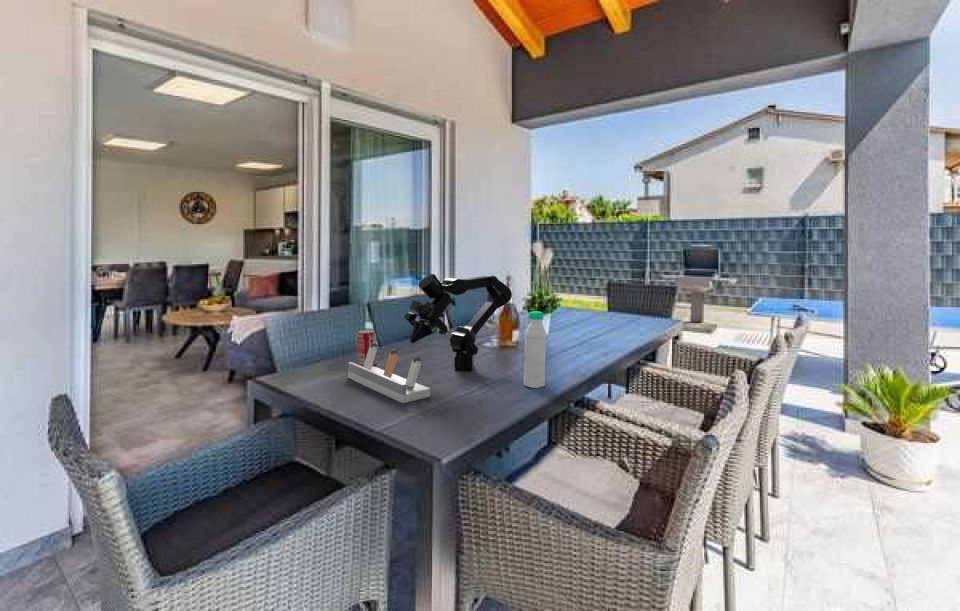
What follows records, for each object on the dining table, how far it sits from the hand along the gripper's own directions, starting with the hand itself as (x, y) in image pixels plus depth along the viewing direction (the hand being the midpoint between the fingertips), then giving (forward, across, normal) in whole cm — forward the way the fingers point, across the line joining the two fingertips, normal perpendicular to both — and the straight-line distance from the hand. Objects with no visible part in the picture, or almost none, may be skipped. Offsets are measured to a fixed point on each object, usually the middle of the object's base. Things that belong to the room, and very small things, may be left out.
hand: (411, 342), depth 165 cm
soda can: (+10, -29, +9) cm, 32 cm away
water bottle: (-10, +30, +30) cm, 44 cm away
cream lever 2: (+14, +13, +1) cm, 19 cm away
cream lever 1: (+14, -13, +1) cm, 19 cm away
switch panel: (+16, 0, +3) cm, 17 cm away
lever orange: (+14, 0, +1) cm, 14 cm away
